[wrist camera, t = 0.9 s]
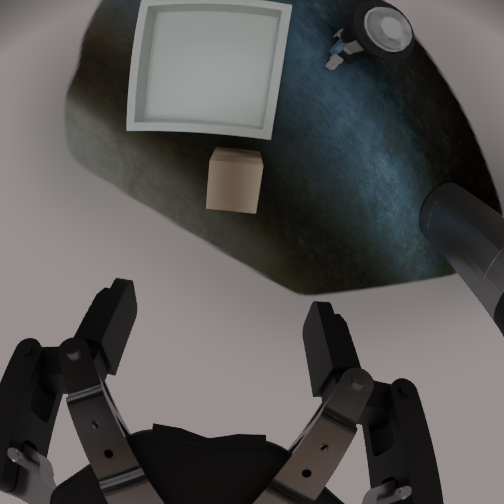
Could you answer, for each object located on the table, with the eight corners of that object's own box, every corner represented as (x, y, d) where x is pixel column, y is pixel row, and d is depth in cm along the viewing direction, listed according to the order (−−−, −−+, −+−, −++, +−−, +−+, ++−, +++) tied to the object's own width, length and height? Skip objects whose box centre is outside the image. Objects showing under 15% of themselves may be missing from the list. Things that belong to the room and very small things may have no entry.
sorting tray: (286, 14, 19) (292, 5, 16) (267, 134, 26) (270, 139, 23) (152, 8, 18) (141, 0, 15) (139, 125, 25) (126, 130, 22)
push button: (345, 84, 23) (391, 85, 15) (304, 52, 22) (335, 35, 13) (377, 44, 20) (431, 34, 12) (338, 12, 19) (380, -14, 10)
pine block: (259, 151, 27) (263, 165, 22) (253, 190, 30) (256, 213, 25) (216, 146, 27) (209, 160, 22) (212, 186, 29) (205, 208, 24)
